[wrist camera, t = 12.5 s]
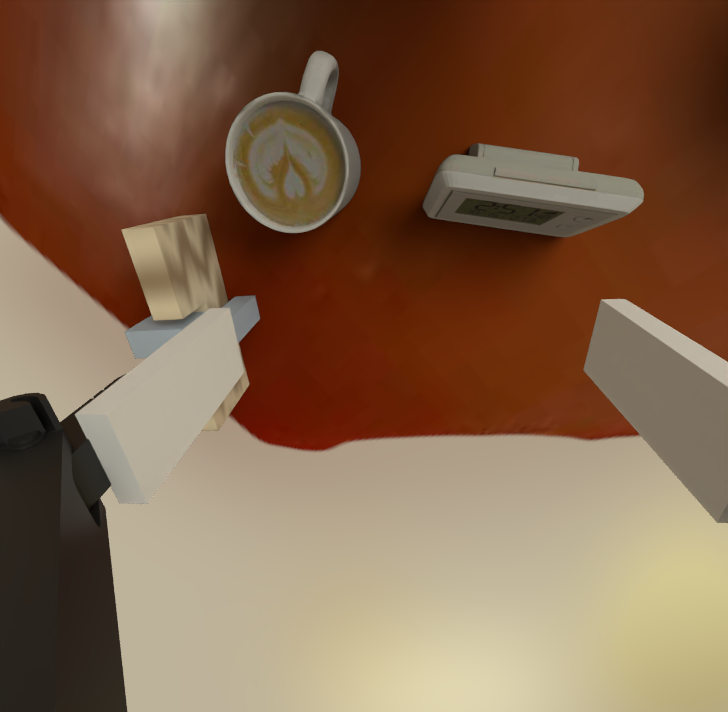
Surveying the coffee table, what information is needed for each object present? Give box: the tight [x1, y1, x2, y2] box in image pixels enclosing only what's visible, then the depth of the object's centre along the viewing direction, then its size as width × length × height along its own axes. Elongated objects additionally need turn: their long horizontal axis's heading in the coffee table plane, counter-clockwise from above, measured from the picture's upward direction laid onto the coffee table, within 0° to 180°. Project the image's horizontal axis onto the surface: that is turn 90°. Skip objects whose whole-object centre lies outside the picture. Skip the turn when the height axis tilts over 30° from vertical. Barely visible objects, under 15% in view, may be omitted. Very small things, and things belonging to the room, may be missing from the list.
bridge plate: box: [125, 296, 260, 358], centre depth 42 cm, size 3×10×10 cm, turn 95°
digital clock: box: [423, 143, 644, 237], centre depth 33 cm, size 16×9×11 cm, turn 71°
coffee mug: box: [225, 51, 361, 233], centre depth 33 cm, size 13×10×10 cm
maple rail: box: [122, 214, 249, 431], centre depth 42 cm, size 22×3×10 cm, turn 5°
